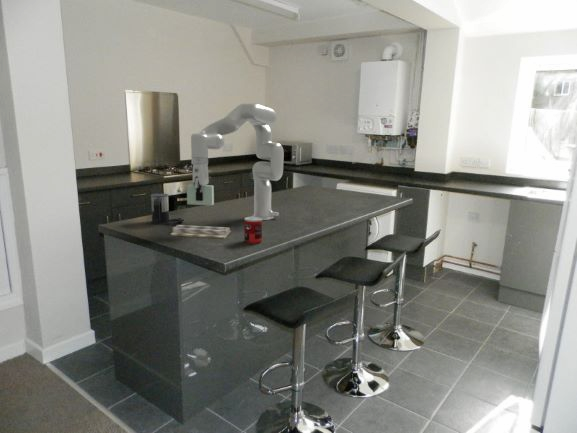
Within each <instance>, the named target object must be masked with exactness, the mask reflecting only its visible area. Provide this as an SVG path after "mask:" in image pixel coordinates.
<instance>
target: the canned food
mask: <svg viewBox="0 0 577 433" xmlns="http://www.w3.org/2000/svg"><path fill="white" fill-rule="evenodd" d="M243 219H244V220H243V221H244V223H243V226H244V229H243V233H244V234H243V235H244V236H243V237H244V243H245V244H248V245H259V244H261V243H262V241H263V220H262V218H260V217H251V216H247V217H244V218H243Z"/></svg>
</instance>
